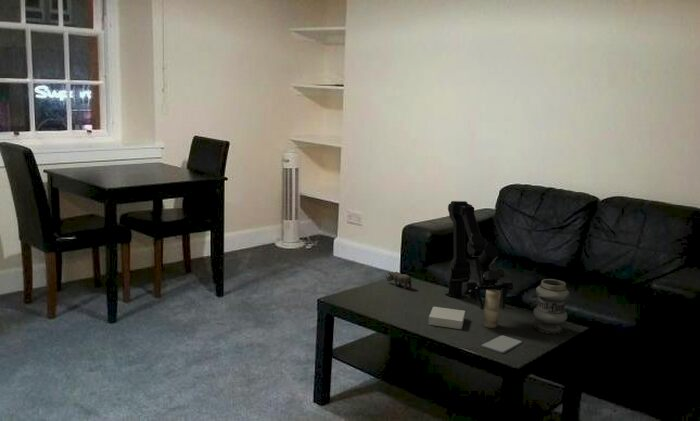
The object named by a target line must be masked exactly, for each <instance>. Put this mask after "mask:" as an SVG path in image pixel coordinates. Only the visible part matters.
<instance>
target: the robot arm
mask: <svg viewBox="0 0 700 421" xmlns="http://www.w3.org/2000/svg"><path fill="white" fill-rule="evenodd" d="M447 211H448V214H449V215H448V217H449V218H450V220H451V222H452V223H453V224H452V225H453V227H452V228H453V231H452V232H453V234H452V236H453V237H452V238H453V240H452V241H453V258H452V259H451V261H450V263H449V268H448V270H447V271H446V273H445V274H444V276H445V277H444V278H445V281H446V282H448V283H449V285H448V292H446V293H445V294H444V295H445V296H449V297H451V298H455V299H460V298H463V297H466V296H467V297H468V298H470V299H471V300H472V301H474V303H475V304H476V305H477V306H478V307H479V308H480V309H481V310H482V311H484V307H485V306H484V303H483V299H482V295H481V291H483V292H484V291H485V292H486V290H487V289H495V290H499V291H500V292H501V294H500V303H499V305H500V307H501V309H502V310H504V309H505V307H506V298H507V295H510V293H511V292H512V291H513V290H514V289H515V283H514V282H512V281H509V280H507V281H502V282H501V283H500V284H497V283H498V281H500V280H501V279H503V278H505V276H506V274H505V269H504V268H498V269H496V270H493V269H492V268H491V265H492V264H494V263H495V261H496V260H497V259H498V257H499V256H500V250H499V248H498V247H496V246H495V245H493V243H492V242H488V241H487V239H486V238H485V237H484V236H483V235H482V234H481V232H480V228H479V225H478V224H479V223H478V221H477V218H476V215H475V207H474V206H473V205H472V204H470V203H468V201H467V200H464V201H461V200H460V201H459V200H452V201H451V202H450V203H448V205H447ZM466 234H467V235H466ZM466 236H467V238H468V241H467V244H466ZM466 247H467V248H466ZM466 251H467V253H468V255H469V257H474V258H475V259H474V260H473V262H472V267H474V269H475V270H474V271H475V273H476V276H475V281H470V278H471V274H472V270H471V263H470V261H468V259H467V258H466ZM476 280H477V281H478V283H477V282H476Z"/></svg>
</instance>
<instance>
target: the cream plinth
mask: <svg viewBox="0 0 700 421" xmlns="http://www.w3.org/2000/svg"><path fill="white" fill-rule="evenodd" d="M429 313H430V314H429V315H428V323H427V325H428V326H436V327H442V328H451V329H457V330H462V329H463V325H464V322H465V315H466V311H465V310H463V309H461V310H460V309H456V308H455V309H453V308H448V307H447V308H446V307H439V306H432V309H431V311H430V312H429Z"/></svg>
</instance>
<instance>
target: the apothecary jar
mask: <svg viewBox="0 0 700 421" xmlns="http://www.w3.org/2000/svg"><path fill="white" fill-rule="evenodd" d="M566 285H567V284H566V282H565V281H563V280H558V279H555V278H554V279H553V278H545V279H542V280H541V281H540V284H539V285H537V287H536V289H535V295H537V305H536V307H534V309H533V310H532V311H533V312H532V314H533V316H534V318H535V319H536V320H537V321H539V322H538V323H536V324H535V325H534V329H536V330H538V332H541V333H544V332H545V333H544V334H549V333H559V334H561V333H563V329H562V327H561V326H559V325H561V324H563V323H565V322H566V321H567V319H568V313H567V311H566V309H565V307H566V300H568V298H570V291H569V289H567V288H566V287H567V286H566ZM560 332H561V333H560Z"/></svg>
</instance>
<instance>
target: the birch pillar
mask: <svg viewBox="0 0 700 421" xmlns="http://www.w3.org/2000/svg"><path fill="white" fill-rule="evenodd" d="M500 294H501V292H500V291H499V290H495V289H487V290H486V291H485V299H484V306H483V307H484V309H483V317H482V318H483V319H482V326H484V327H486V328H490V329H493V328H494V329H495V328H497V327H498V320H499V310H500Z"/></svg>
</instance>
